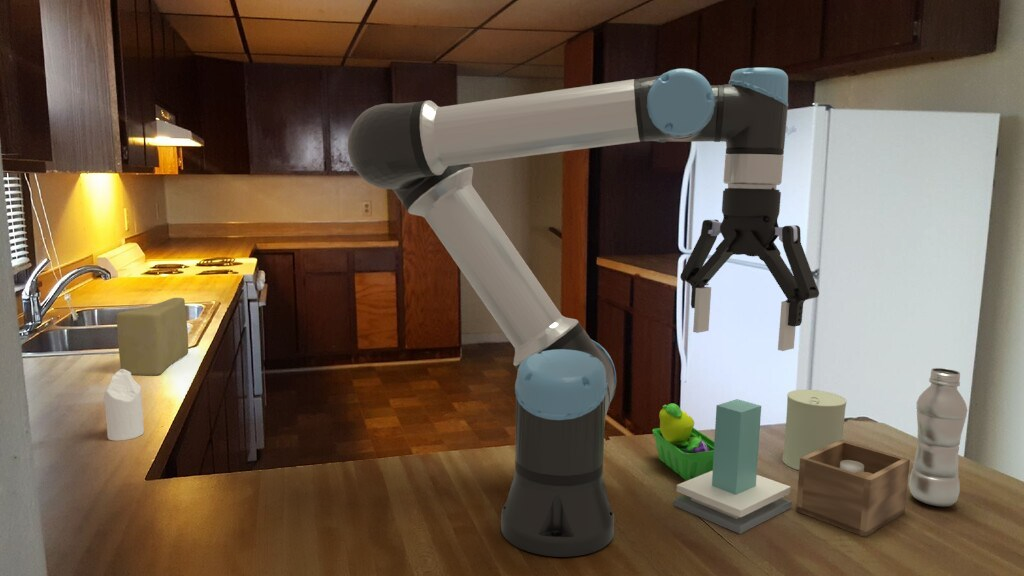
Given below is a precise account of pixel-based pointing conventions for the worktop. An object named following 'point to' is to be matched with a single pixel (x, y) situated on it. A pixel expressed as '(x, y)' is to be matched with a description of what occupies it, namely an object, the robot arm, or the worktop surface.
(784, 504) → the plate
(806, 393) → the can
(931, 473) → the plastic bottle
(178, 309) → the cheese
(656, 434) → the fruit basket
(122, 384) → the white upright rounded piece
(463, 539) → the worktop surface
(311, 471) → the worktop surface
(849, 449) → the box
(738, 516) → the lid
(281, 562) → the worktop surface
